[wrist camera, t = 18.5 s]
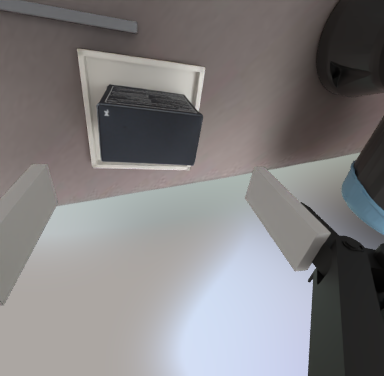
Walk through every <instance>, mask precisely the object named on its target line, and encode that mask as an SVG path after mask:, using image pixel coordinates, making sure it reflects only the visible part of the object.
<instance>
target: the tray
mask: <svg viewBox="0 0 384 376" xmlns="http://www.w3.org/2000/svg"><path fill="white" fill-rule="evenodd" d="M77 53H78V61H79V69H80V76H81V84H82V92H83V100H84V107H85V115H86V123H87V131H88V138H89V146H90V154H91V162H92V168H114V169H159V170H190V168H191V166H190V165H170V164H149V163H125V162H103V161H101V157H100V144H99V131H98V118H97V108H96V105H97V103H99V102H100V100H101V98H102V96H103V94H104V93H105V91H106V89H107V86H108V85H109V84H111V85H118V86H126V87H133V88H142V89H147V90H155V91H162V92H169V93H176V94H182V95H185V96H186V98H187V99H188V100H189V101H190V103H191V104H192V105H193V106H194V107H195V109H196V110H197V111H198V112H199V107H200V100H201V93H202V87H203V80H204V73H205V67H202V66H197V65H190V64H183V63H176V62H170V61H163V60H156V59H149V58H143V57H136V56H129V55H122V54H115V53H109V52H102V51H95V50H88V49H82V48H80V49H77Z"/></svg>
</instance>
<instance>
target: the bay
mask: <svg viewBox="0 0 384 376" xmlns="http://www.w3.org/2000/svg"><path fill="white" fill-rule="evenodd" d="M0 10H2V11H8V12H13V13H19V14H25V15H31V16H37V17H42V18H48V19H54V20H60V21H65V22H71V23H77V24H83V25H88V26H94V27H100V28H106V29H111V30H117V31H123V32H129V33H134V34H137V22H134V21H129V20H124V19H118V18H113V17H108V16H102V15H97V14H92V13H86V12H81V11H76V10H70V9H65V8H59V7H54V6H49V5H43V4H38V3H33V2H27V1H22V0H0Z"/></svg>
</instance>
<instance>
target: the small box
mask: <svg viewBox="0 0 384 376" xmlns="http://www.w3.org/2000/svg"><path fill="white" fill-rule="evenodd" d="M96 108H97V118H98V131H99V144H100V157H101V161H103V162H125V163H149V164H170V165H190V166H193V165H194V162H195V158H196V153H197V147H198V142H199V137H200V131H201V125H202V120H203V115H202V114H201V113H199V112H198V111H197V110H196V109H195V107H194V106H193V105H192V104H191V103H190V101H189V100H188V99H187V98H186V96H185V95H182V94H176V93H169V92H162V91H155V90H147V89H142V88H133V87H126V86H118V85H111V84H109V85H108V86H107V89H106V91H105V93H104V94H103V96H102V98H101V100H100V102H99V103H97V105H96Z"/></svg>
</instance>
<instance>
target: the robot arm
mask: <svg viewBox="0 0 384 376" xmlns="http://www.w3.org/2000/svg"><path fill="white" fill-rule="evenodd" d="M317 71H318V75H319V78H320V81H321V83H322V84H323V86H324V87H325V88H326V89H327V90H328V91H330V92H332V93H334V94H338V95H342V96H347V97H358V96H365V95H372V94H378V93H384V0H340V2H339V3H338V4H337V6H336V7H335V9H334V10H333V12H332V13H331V15H330V17H329V19H328V21H327V23H326V25H325V27H324V30H323V32H322V35H321V38H320V42H319V46H318V52H317ZM342 196H343V198H344V200H345V201H346V202H347V205H348V207H349V208H350V209H351V210H352V211H353V212H354V213H355V214H356V215H357V216H358V217H359V218H360V219H361V220H362V221H364V222H365V223H366V224H368V225H369V226H370V227H372V228H373V229H374V230H376V231H378V232H380V233H381V234H383V235H384V116H383V118H382V120H381V121H380V123H379V124H378V126H377V128H376V129H375V131H374V133H373V134H372V136H371V138H370V139H369V141H368V142H367V144H366V145H365V147H364V149H363V150H362V152H361V153H360V155H359V157H358V158H357V160H355V161H353V163H352V164H351V170H350V171H349V173H348V175H347V177H346V179H345V181H344V182H343V185H342ZM245 199H246V200H247V202H248V203H249V205H250V206H251V207H252V209H253V211H254V212H255V213H256V215H257V217H258V218H259V219H260V221H261V222H262V224H263V225H264V227H265V228H266V230H267V231H268V233H269V234H270V236H271V237H272V238H273V240H274V241H275V243H276V244H277V246H278V247H279V249H280V250H281V252H282V253H283V255H284V256H285V258H286V259H287V261H288V262H289V264H290V265H291V266H292V268H293V269H294V271H303V270H308V268H309V266H310V265H311V263H313V264H314V265H315V267H316V269H315V270H314V272H313V273H312V275H311V276H310V278H309V280H308V282H311V280H312V279H313V293H312V311H311V330H310V348H309V366H308V376H384V244H381V245H380V246H379V247H378V248H377V249H376V250H373V249H368V248H364V246H363V245H361V244H360V243H359V242H358V241H356V240H354V239H352V238H350V237H347V236H339V235H338V234H337V233H336V232H335V231H334V230H333V229H332V228H331V227H329V225H328V224H326V223H325V222H324V221H323V220H322V219H321V218H320V217H319V216H318V215H317V214H316V213H315V212H314V211H313V210H312V209H311V208H310V207H308V206H307V205H305V204H303V203H302V202H299V201H298V200H297V199H296V198H295V197H294V196H293V195H292V194H291V193H290V192H289V191H288V190H287V189H286V188H285V187H284V186H283V185H282V184H281V183H280V182H279V181H278V180H277V179H276V178H275V177H274V176H273V175H272V174H271V173H270V172H269V171H268V170H267V169H266V168H265V167H254V170H253V173H252V177H251V180H250V183H249V186H248V190H247V193H246V196H245ZM57 204H58V200H57V197H56V193H55V190H54V186H53V182H52V179H51V175H50V172H49V168H48V165H47V164H32V165H31V166H30V167H29V168H28V169H27V170H26V171H25V172H24V173H23V175H22V176H21V177H20V178H19V179H18V180H17V181H16V182H15V183H14V184H13V185H12V187H11V188H10V189H9V190H8V191H7V192H6V193H5V194H4V195H3V196H2V197H1V199H0V306H2V305H4V304H5V302H6V300H7V298H8V296H9V295H10V293H11V291H12V289H13V287H14V285H15V283H16V281H17V279H18V277H19V276H20V274H21V272H22V270H23V268H24V266H25V264H26V262H27V260H28V259H29V257H30V255H31V253H32V251H33V249H34V247H35V245H36V244H37V242H38V240H39V238H40V236H41V234H42V232H43V230H44V228H45V226H46V224H47V223H48V221H49V219H50V217H51V215H52V213H53V211H54V209H55V208H56V206H57Z"/></svg>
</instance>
